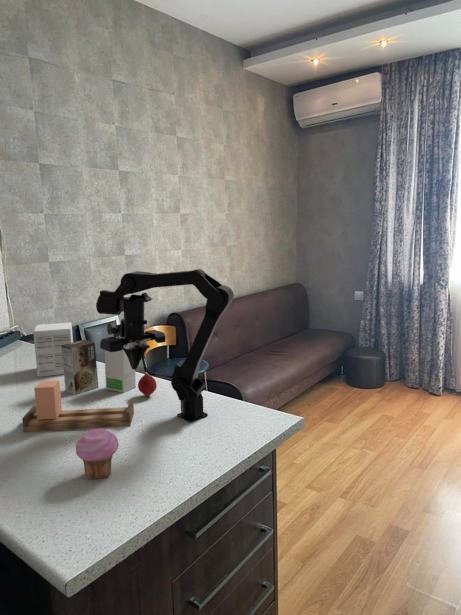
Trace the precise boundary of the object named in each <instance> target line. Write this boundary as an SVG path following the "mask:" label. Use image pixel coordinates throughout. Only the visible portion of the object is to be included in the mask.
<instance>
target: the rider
mask: <svg viewBox="0 0 461 615" xmlns="http://www.w3.org/2000/svg"><path fill="white" fill-rule="evenodd" d="M60 383H61V382H60V380H59V379H57V380H41V381H39V382H38V383H37V385H35V387H33V389H34V390H33V391H34V400H35V406H36V412H37V420H42V419H56V418H57V417H59V414H60V413H61V411H63V407H62V395H61V394H62V393H61V384H60Z"/></svg>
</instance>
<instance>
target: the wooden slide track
mask: <svg viewBox="0 0 461 615" xmlns="http://www.w3.org/2000/svg"><path fill="white" fill-rule="evenodd" d="M134 407H135V406H134V400H129V402H128V405H127V406H126V407H125V406H124V407H107V408H106V407H104V408H89V409H86V408H85V409H70V410H67V409H66V410H62V411H61V413H60V414H59V417H57V418H56V419H42V420H37V412H36V405H33V406H32V407H31V408H30V409H29V410H28V412H27V413H25V415H24V416H23V417H22V418H21V419H22V420H21V421H22V426H23V427H22V428H23V433H34V432H35V433H36V432H51V431H52V432H53V431H68V430H83V429H104V428H105V429H106V428H118V427H119V428H123V427H124V428H125V427H131V424H132V421H133V418H134V414H135V410H134V409H135V408H134Z"/></svg>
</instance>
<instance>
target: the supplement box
mask: <svg viewBox="0 0 461 615" xmlns="http://www.w3.org/2000/svg"><path fill="white" fill-rule="evenodd" d="M72 324H73V323H72V322H60V323H59V322H58V323H44V324H36V326H35V328H34V330H33V332H32V333H33V342H34V354H35V361H36V362H35V363H36V364H35V366H36V375H37V377H38V378H39V377H50V376H60V375H64V368H63V357H62V346H61V345H64V344H68V343H73V342H74V338H73V337H74V336H73V326H72Z"/></svg>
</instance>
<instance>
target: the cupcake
mask: <svg viewBox="0 0 461 615" xmlns="http://www.w3.org/2000/svg"><path fill="white" fill-rule="evenodd" d="M118 449H119V440H118V437H117V436H116V434H114V432H111V431H110V430H108V429H106V428H105V429H104V428H92V429H90V430H88V431H86V432H85V433H84V434H83V435H82V436H81V437H80V438H79V439H78V440H77V442H76V444H75V454H76V456H77V457H78V458H79V459H81V460H82V462H83V466H84V468H83V469H84V475H85V477H86V478H87V479H89V480H95V479H99V478H101V479H102V478H108V477H110V475H111V472H112V461H113V460H112V459H113V456H114V454H116V452H117V450H118Z"/></svg>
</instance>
